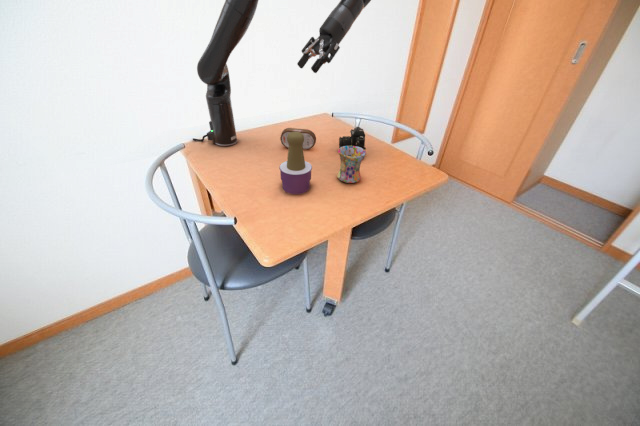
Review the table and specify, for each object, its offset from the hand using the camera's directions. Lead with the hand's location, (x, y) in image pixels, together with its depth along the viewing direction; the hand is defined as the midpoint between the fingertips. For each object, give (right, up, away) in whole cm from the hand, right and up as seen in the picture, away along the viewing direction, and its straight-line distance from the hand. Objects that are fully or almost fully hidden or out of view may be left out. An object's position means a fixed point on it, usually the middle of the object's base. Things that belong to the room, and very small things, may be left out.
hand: (306, 68), depth 88 cm
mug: (+14, -34, +11) cm, 38 cm away
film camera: (+18, -21, +28) cm, 39 cm away
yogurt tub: (-4, -38, +4) cm, 38 cm away
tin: (-5, -19, +29) cm, 35 cm away
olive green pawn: (-3, -32, -1) cm, 32 cm away
